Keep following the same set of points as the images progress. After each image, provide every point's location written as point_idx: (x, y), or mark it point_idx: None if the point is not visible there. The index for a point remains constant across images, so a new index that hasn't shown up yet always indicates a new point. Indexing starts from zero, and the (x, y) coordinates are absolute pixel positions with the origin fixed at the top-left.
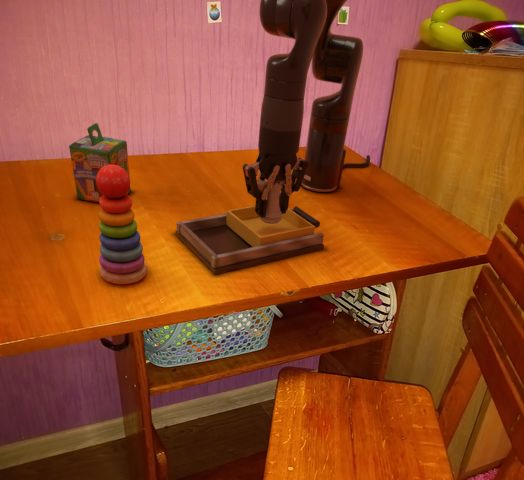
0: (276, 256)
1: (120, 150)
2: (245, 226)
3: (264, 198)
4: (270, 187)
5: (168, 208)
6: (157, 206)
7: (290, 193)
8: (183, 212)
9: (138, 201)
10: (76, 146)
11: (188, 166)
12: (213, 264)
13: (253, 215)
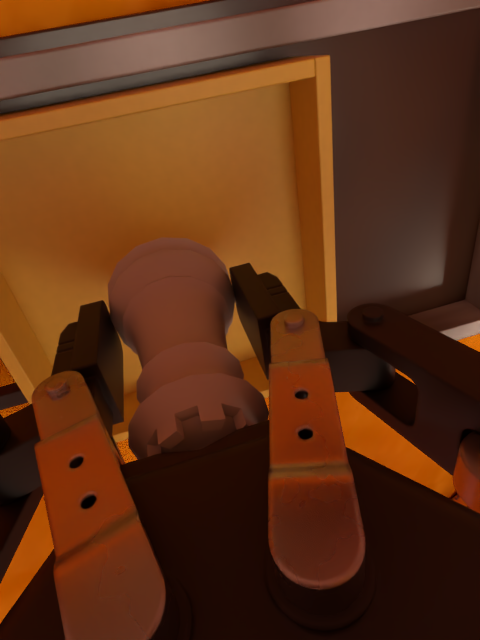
0: (206, 1)
1: None
2: (333, 225)
3: (291, 312)
4: (284, 364)
5: (395, 452)
6: (414, 459)
7: (48, 383)
8: (370, 434)
9: (440, 477)
10: None
11: None
12: None
13: None
